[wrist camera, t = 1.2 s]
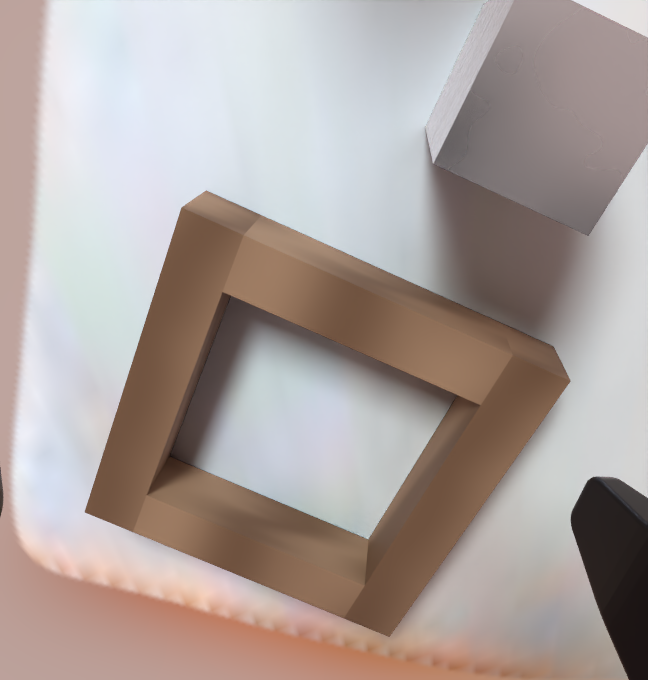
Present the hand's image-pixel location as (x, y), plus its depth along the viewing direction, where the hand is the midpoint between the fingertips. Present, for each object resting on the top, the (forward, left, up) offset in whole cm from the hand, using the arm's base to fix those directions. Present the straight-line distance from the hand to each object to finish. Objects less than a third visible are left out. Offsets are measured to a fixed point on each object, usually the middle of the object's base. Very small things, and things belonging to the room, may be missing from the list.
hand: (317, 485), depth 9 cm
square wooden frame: (-1, +7, -13) cm, 15 cm away
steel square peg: (-2, -6, -13) cm, 14 cm away
